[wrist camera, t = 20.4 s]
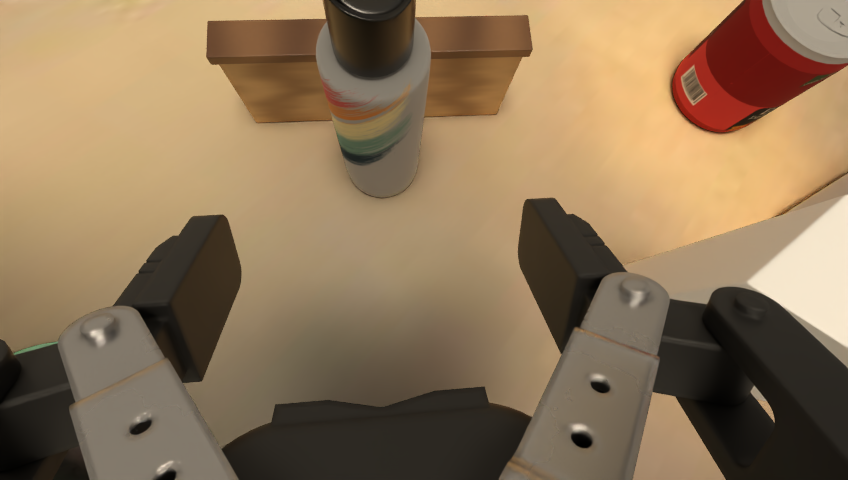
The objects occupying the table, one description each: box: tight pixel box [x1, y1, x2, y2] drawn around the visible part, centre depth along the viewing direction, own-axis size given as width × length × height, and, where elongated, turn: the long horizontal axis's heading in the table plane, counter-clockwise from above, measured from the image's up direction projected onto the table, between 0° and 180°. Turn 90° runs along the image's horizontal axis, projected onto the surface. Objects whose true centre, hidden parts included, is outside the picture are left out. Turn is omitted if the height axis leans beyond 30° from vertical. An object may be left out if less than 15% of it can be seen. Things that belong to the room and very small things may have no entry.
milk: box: [623, 195, 848, 401], centre depth 24 cm, size 6×6×22 cm
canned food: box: [672, 0, 848, 132], centre depth 34 cm, size 8×8×11 cm
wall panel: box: [206, 15, 533, 123], centre depth 33 cm, size 21×3×9 cm, turn 94°
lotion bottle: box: [316, 0, 431, 197], centre depth 27 cm, size 6×6×20 cm
